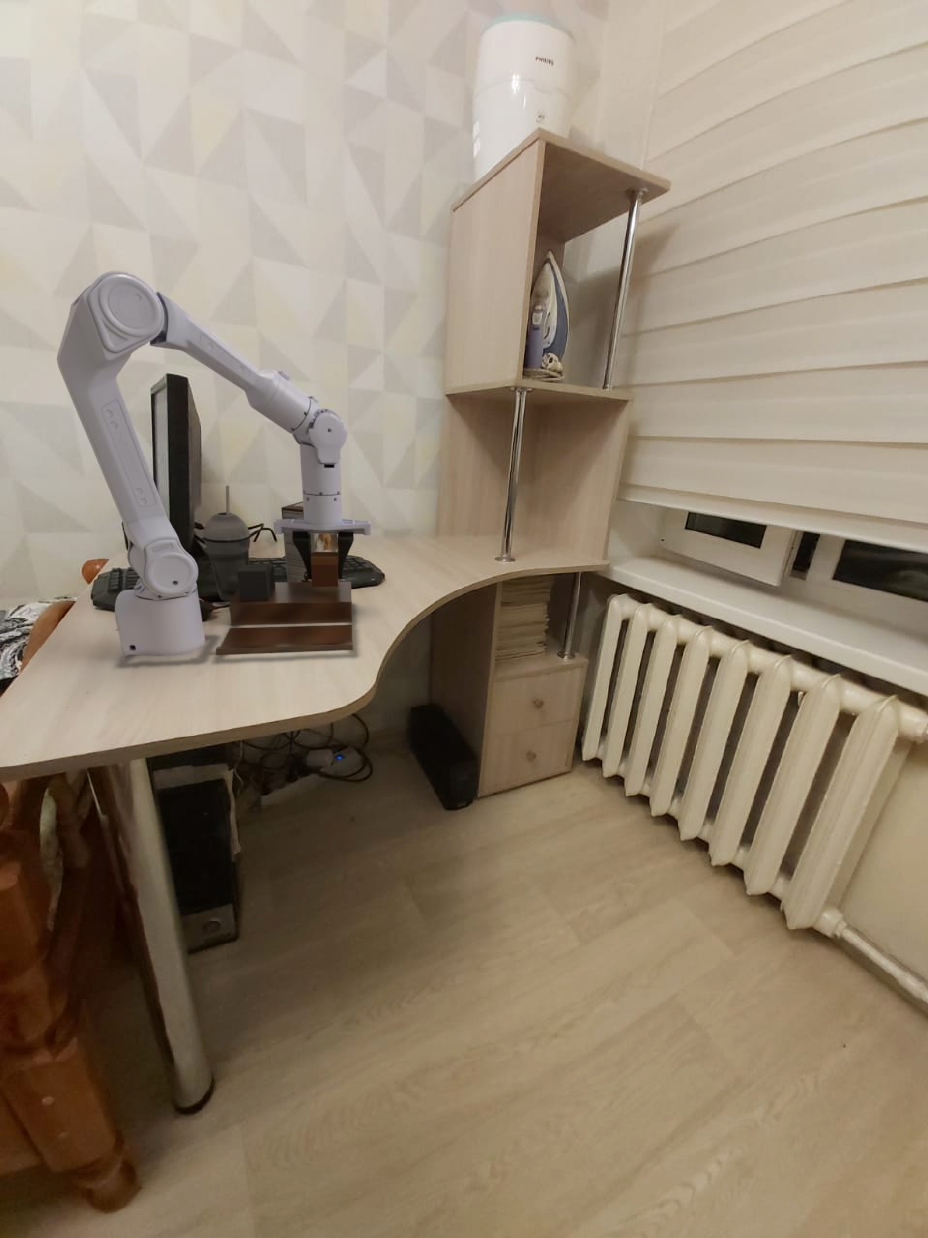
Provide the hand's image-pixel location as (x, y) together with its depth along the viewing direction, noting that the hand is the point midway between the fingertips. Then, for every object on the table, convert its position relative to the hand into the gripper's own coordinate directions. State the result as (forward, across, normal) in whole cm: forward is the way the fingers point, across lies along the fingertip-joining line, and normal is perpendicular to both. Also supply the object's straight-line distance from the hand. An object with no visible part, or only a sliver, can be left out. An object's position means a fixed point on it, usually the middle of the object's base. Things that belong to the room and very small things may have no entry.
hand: (325, 577), depth 81 cm
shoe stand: (+7, +5, +6) cm, 10 cm away
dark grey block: (+2, +10, 0) cm, 11 cm away
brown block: (+1, 0, -1) cm, 1 cm away
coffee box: (+7, +3, -15) cm, 17 cm away
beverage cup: (+7, +16, -8) cm, 19 cm away
